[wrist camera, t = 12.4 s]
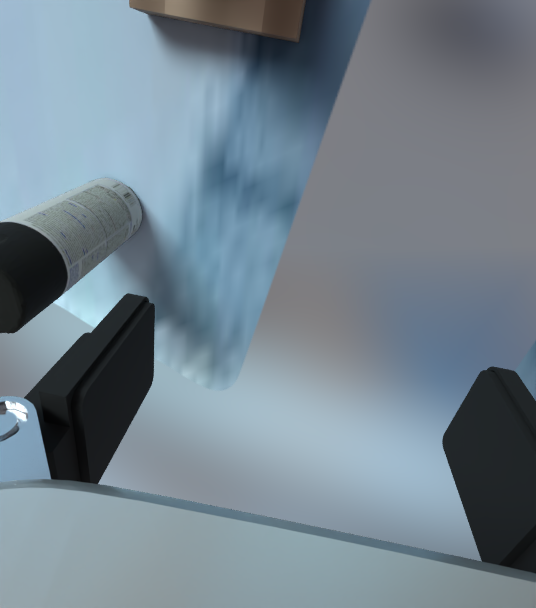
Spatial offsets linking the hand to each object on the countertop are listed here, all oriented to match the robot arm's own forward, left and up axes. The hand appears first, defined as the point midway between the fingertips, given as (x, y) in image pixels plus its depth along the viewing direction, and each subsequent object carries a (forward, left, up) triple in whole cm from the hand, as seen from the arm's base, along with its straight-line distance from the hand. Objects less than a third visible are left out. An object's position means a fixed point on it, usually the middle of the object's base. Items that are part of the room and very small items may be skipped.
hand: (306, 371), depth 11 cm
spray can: (+20, +8, -31) cm, 37 cm away
